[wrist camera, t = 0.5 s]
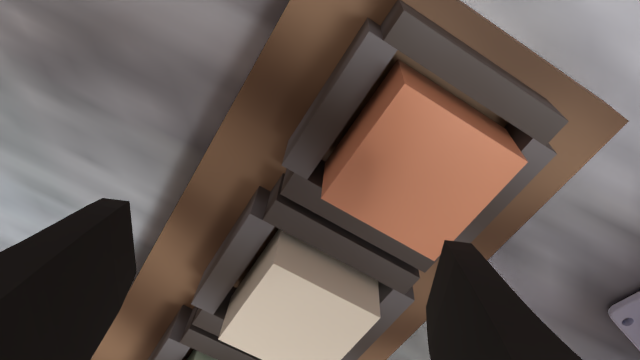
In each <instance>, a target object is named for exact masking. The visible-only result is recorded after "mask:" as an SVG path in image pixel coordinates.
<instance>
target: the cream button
mask: <svg viewBox="0 0 640 360" xmlns="http://www.w3.org/2000/svg"><path fill="white" fill-rule="evenodd" d="M379 319H380V302H379V287H378V281H377V280H375V279H373V278H371V277H369V276H367V275H366V274H364V273H362V272H360V271H358V270H356V269H354V268H352V267H350V266H348V265H347V264H345V263H343V262H341V261H339V260H337V259H335V258H333V257H331V256H330V255H328V254H326V253H324V252H322V251H320V250H318V249H316V248H314V247H312V246H311V245H309V244H307V243H305V242H303V241H301V240H299V239H297V238H295V237H294V236H292V235H290V234H288V233H286V232H284V231H282V230H280V229H278V231H277V232H276V233H275V235H274V236H273V238H272V239H271V241H270V242H269V243H268V245H267V246H266V248H265V249H264V250H263V252H262V253H261V255H260V256H259V258H258V259H257V260H256V262H255V263H254V265H253V266H252V268H251V269H250V270H249V272H248V273H247V275H246V276H245V277H244V279H243V280H242V282H241V283H240V285H239V286H238V287H237V289H236V290H235V292H234V293H233V295H232V296H231V299H230V303H229V306H228V309H227V312H226V315H225V319H224V322H223V325H222V328H221V331H220V335H219V338H218V340H220V341H222V342H225V343H227V344H229V345H231V346H233V347H235V348H238V349H240V350H242V351H244V352H246V353H248V354H251V355H253V356H255V357H257V358H259V359H261V360H341V359H342V358H343V357H344V356H345V355H346V354H347V353H348V352H349V351H350V350H351V349H352V348H353V347H354V345H355V344H356V343H357V342H358V341H359V340H360V339H361V338H362V337H363V336H364V335H365V334H366V333H367V332H368V331H369V330H370V329H371V327H372V326H373V325H374V324H375V323H376V322H377V321H378V320H379Z"/></svg>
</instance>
